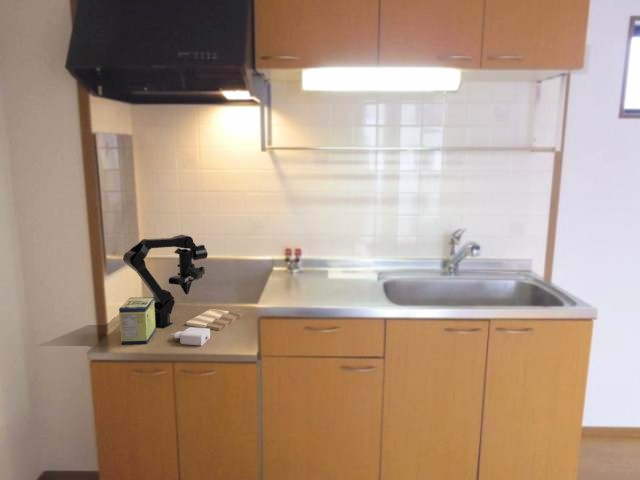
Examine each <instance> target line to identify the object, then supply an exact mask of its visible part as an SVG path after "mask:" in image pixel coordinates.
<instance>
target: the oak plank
mask: <svg viewBox="0 0 640 480" xmlns="http://www.w3.org/2000/svg"><path fill="white" fill-rule="evenodd" d="M227 313H229V311H228V310H222V309H214V308H210V309H208V310H206V311H204V312H202V313H201V314H198V315H196V316H195V317H193V318H191V319H189V320H187V321H185V325H186V326H188V327H194V328H206V326H207V325H208V324H210V323H212V322H214V321H215V320H217V319H219V318H220V317H222V316H224V315H226V314H227Z"/></svg>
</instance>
